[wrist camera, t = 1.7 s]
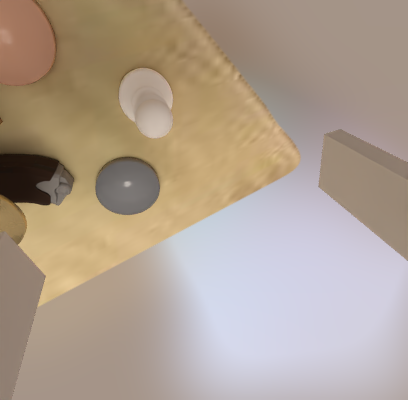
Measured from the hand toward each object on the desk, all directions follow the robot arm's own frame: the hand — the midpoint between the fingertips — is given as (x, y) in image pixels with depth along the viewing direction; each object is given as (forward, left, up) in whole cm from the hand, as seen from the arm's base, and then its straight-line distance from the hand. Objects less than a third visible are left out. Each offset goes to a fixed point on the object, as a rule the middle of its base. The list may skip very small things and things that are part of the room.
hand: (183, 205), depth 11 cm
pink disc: (-7, -9, -19) cm, 22 cm away
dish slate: (+9, -5, -19) cm, 21 cm away
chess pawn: (0, 0, -19) cm, 19 cm away
